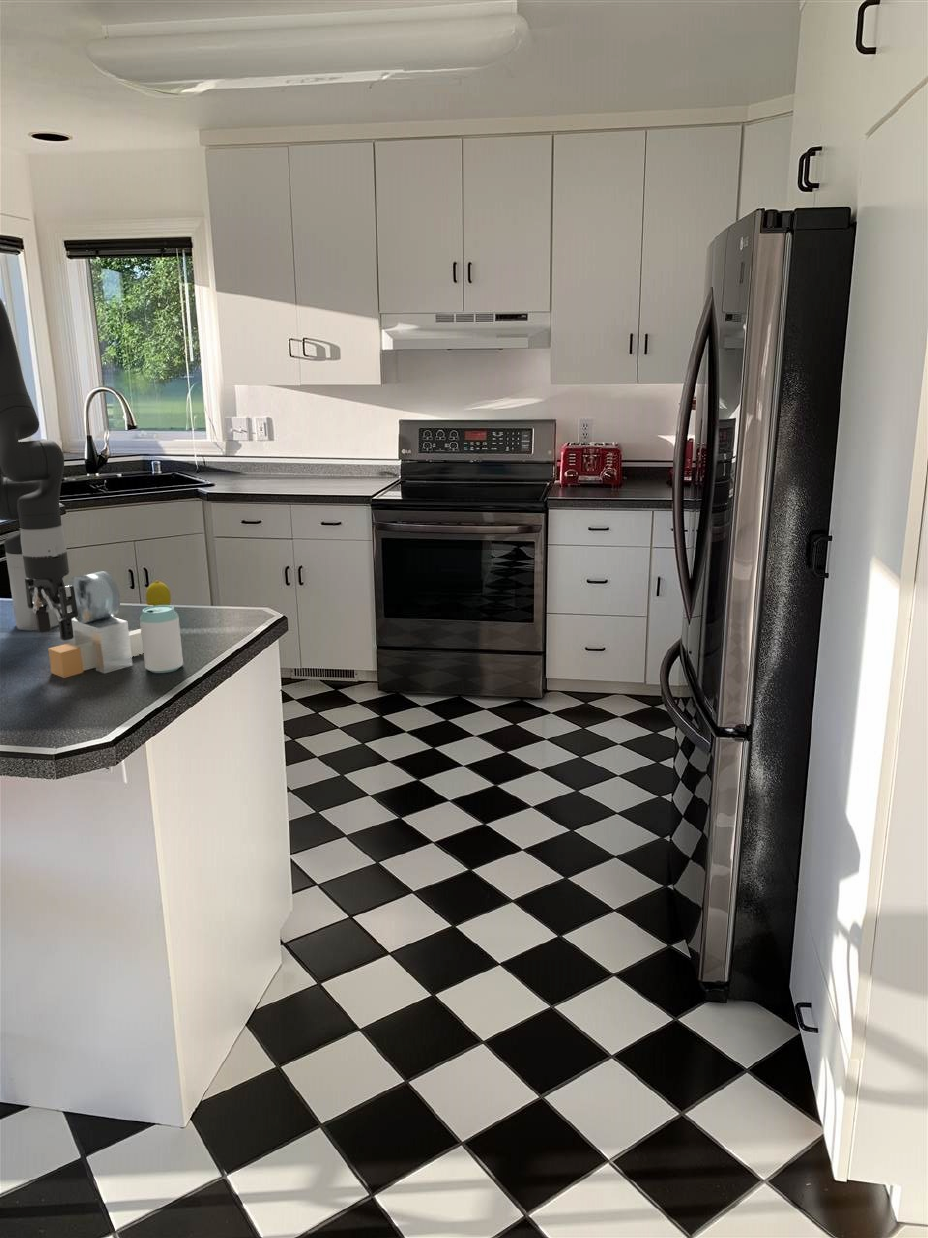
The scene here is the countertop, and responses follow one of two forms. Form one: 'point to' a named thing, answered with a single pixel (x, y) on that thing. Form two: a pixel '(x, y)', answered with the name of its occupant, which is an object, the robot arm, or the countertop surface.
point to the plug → (84, 656)
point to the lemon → (158, 594)
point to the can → (161, 639)
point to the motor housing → (100, 621)
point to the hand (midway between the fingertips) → (55, 635)
